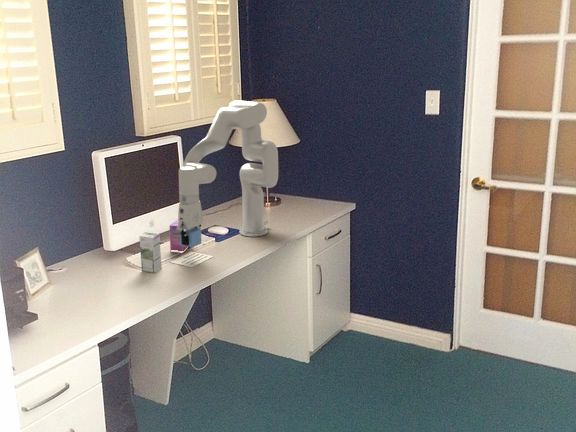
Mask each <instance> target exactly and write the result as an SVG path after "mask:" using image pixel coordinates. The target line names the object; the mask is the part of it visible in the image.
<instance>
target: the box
mask: <svg viewBox="0 0 576 432" xmlns="http://www.w3.org/2000/svg"><path fill="white" fill-rule="evenodd" d="M178 224H179V223H178V219H176V220H175V221H174V222H172V223H171V224H170V225H169V245H170V247H169V248H170V249H169V250H170V251H171V250H178V251H184V250H185V249H186V248H187V246H182V245H180V233H179V232H178V231H177V229H176V228H177V226H178Z"/></svg>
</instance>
